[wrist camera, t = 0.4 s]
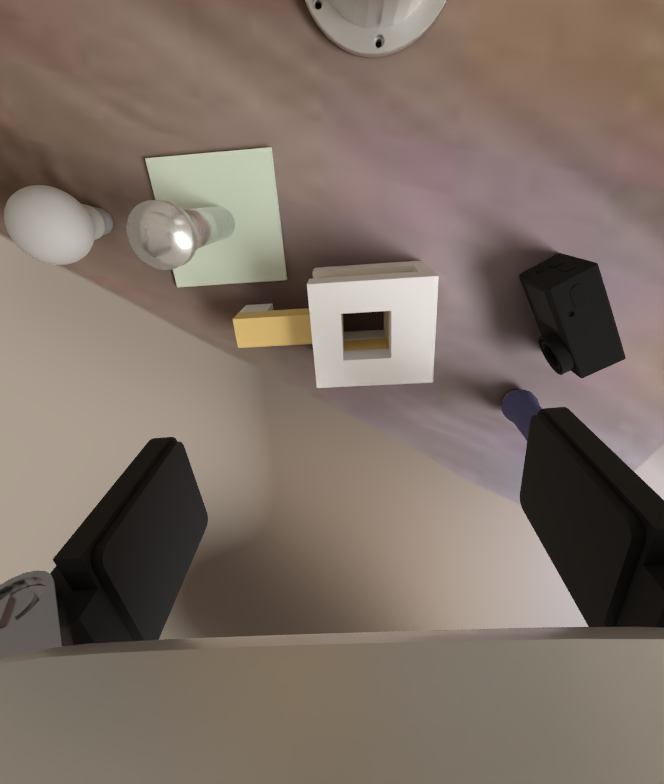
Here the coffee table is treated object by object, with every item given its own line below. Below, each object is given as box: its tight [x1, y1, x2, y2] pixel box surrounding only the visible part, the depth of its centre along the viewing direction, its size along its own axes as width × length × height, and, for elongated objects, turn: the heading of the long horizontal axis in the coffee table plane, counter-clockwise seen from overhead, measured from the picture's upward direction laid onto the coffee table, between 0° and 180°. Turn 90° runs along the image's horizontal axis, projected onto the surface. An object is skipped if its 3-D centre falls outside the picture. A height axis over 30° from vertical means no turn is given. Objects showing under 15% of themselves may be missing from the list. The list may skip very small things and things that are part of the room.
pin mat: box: [145, 147, 287, 287], centre depth 39 cm, size 12×12×1 cm
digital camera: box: [519, 253, 625, 378], centre depth 39 cm, size 10×5×7 cm, turn 31°
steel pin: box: [127, 200, 235, 270], centre depth 32 cm, size 4×4×14 cm
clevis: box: [233, 261, 439, 388], centre depth 39 cm, size 10×19×8 cm, turn 94°
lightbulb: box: [4, 185, 113, 265], centre depth 34 cm, size 6×6×11 cm
